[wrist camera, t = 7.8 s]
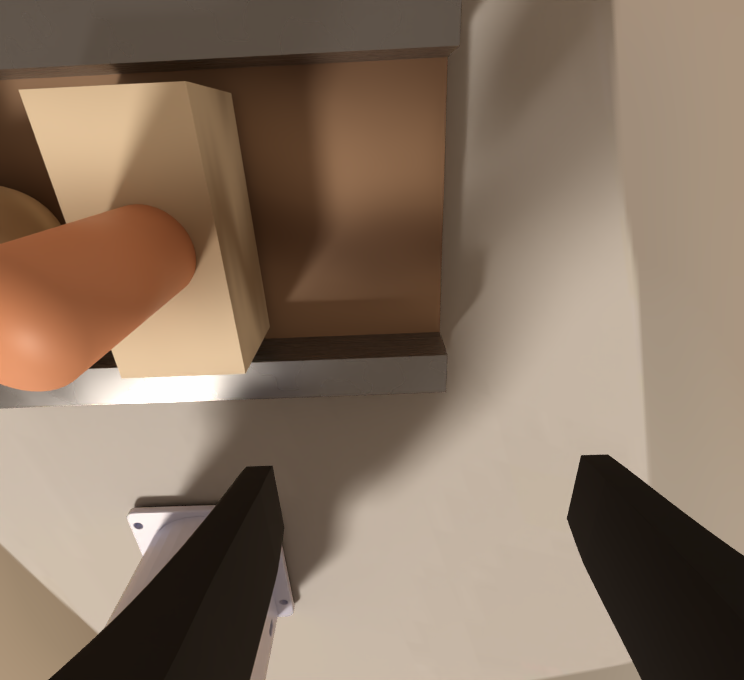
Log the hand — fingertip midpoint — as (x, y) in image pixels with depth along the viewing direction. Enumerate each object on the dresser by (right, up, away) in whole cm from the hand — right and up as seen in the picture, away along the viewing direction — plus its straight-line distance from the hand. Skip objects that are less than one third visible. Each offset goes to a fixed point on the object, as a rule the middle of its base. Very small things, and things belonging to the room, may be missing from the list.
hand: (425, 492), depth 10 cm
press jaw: (-8, +8, +5) cm, 12 cm away
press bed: (-9, +8, +6) cm, 14 cm away
